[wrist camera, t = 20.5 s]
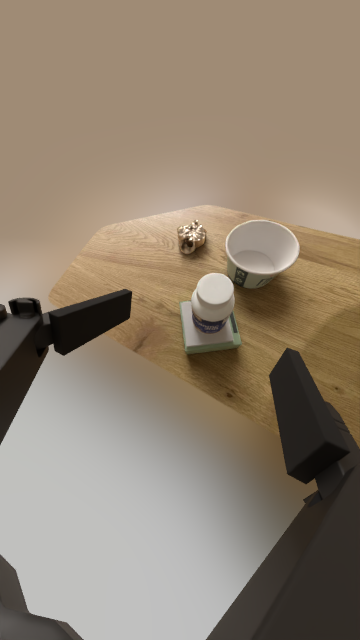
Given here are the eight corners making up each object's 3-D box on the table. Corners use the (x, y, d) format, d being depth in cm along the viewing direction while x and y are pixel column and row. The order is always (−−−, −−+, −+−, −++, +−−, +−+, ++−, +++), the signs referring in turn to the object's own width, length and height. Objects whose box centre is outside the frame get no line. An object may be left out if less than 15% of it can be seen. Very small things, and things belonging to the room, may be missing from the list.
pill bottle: (186, 325, 27) (181, 296, 18) (201, 300, 28) (204, 261, 19) (216, 341, 25) (227, 319, 16) (231, 313, 27) (249, 278, 18)
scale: (237, 348, 28) (243, 343, 25) (186, 354, 29) (185, 350, 25) (226, 302, 32) (230, 292, 28) (180, 308, 32) (178, 299, 28)
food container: (242, 238, 37) (252, 210, 31) (292, 265, 33) (314, 239, 27) (208, 272, 34) (211, 249, 28) (258, 306, 31) (273, 287, 25)
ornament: (187, 225, 40) (186, 211, 36) (212, 235, 38) (213, 220, 35) (169, 248, 38) (166, 235, 34) (194, 259, 36) (194, 246, 33)
